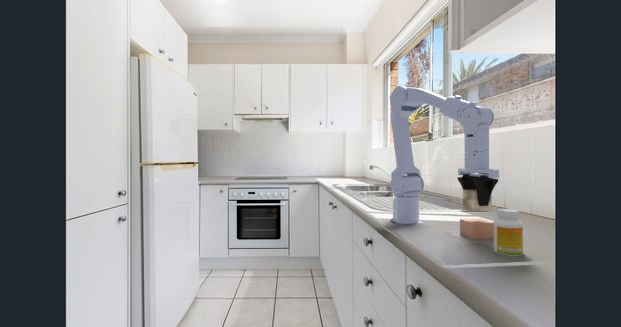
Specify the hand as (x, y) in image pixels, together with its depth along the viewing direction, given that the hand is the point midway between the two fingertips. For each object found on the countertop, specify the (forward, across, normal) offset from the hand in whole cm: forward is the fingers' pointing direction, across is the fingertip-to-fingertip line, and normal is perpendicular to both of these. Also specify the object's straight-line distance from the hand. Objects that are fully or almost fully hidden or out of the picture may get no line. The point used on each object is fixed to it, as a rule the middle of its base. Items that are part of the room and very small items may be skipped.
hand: (476, 204), depth 83 cm
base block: (+8, 0, 0) cm, 8 cm away
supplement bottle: (+9, -14, +2) cm, 17 cm away
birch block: (+1, 0, 0) cm, 1 cm away
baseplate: (+9, 0, 0) cm, 9 cm away
